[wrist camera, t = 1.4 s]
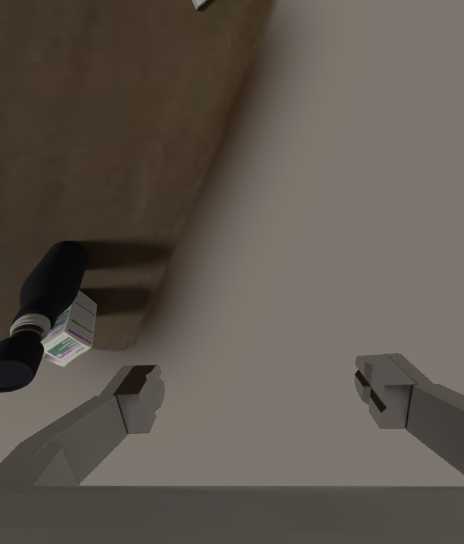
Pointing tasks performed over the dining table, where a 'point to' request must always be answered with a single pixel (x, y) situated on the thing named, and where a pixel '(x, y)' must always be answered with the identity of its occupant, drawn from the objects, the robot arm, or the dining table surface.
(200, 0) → the white socket base
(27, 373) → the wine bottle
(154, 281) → the dining table surface
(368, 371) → the robot arm
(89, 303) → the syrup box
